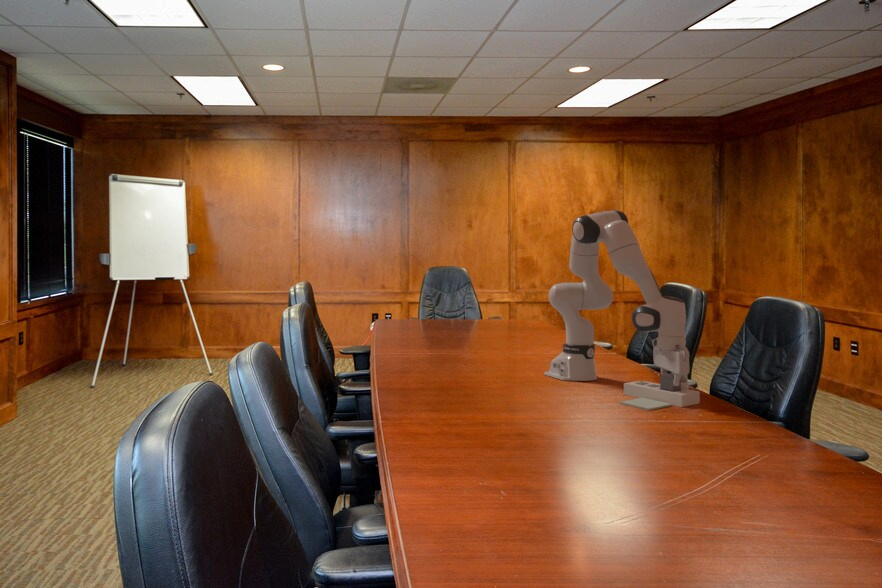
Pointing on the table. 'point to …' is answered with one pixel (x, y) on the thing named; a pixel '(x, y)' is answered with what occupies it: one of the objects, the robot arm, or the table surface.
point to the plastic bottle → (684, 376)
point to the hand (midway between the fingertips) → (670, 383)
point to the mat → (645, 403)
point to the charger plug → (669, 383)
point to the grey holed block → (661, 393)
